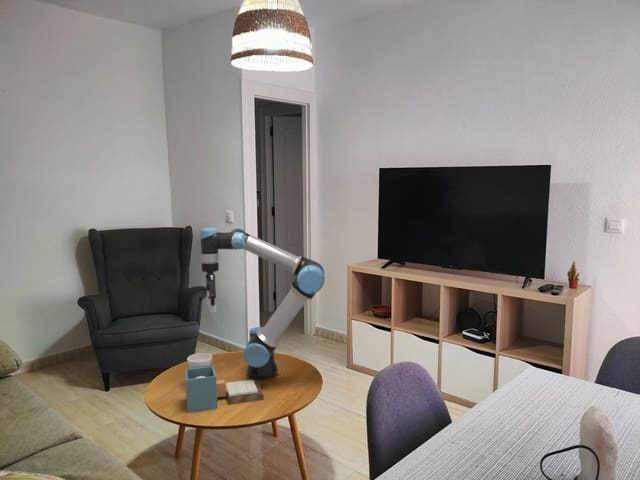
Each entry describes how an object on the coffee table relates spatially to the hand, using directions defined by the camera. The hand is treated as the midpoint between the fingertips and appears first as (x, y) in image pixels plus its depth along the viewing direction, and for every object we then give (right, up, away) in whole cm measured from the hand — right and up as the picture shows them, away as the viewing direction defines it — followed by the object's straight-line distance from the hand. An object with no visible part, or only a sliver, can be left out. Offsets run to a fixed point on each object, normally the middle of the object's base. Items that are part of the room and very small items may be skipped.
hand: (211, 308), depth 225 cm
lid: (+12, -36, -7) cm, 39 cm away
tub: (-1, -39, -14) cm, 41 cm away
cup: (-6, -37, +3) cm, 37 cm away
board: (+16, -38, -6) cm, 41 cm away
